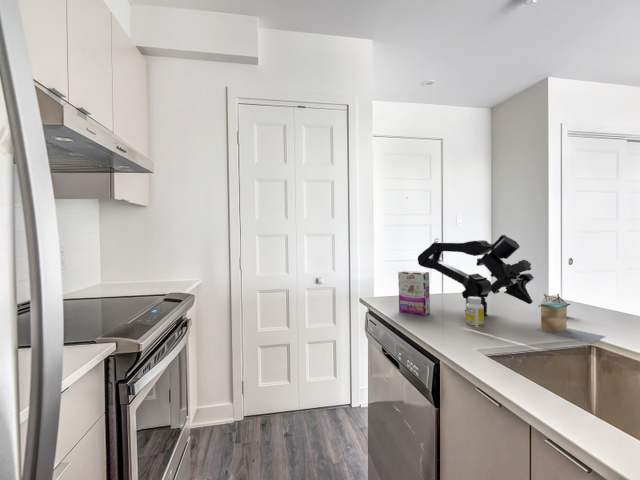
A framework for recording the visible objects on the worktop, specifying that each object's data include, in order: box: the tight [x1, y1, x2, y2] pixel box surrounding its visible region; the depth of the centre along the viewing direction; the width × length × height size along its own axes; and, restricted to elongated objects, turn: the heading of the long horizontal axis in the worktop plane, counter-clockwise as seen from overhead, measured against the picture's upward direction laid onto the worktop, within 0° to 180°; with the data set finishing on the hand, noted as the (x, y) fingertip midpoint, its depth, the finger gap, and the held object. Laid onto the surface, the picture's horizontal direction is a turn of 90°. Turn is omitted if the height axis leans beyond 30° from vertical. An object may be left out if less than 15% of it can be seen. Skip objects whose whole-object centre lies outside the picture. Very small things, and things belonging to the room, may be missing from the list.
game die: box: [538, 293, 572, 308], centre depth 113 cm, size 9×8×10 cm
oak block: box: [540, 302, 568, 333], centre depth 96 cm, size 4×6×8 cm
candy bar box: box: [397, 270, 431, 316], centre depth 122 cm, size 11×5×16 cm, turn 49°
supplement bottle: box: [465, 297, 485, 328], centre depth 103 cm, size 5×5×10 cm
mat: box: [535, 327, 606, 344], centre depth 93 cm, size 14×10×1 cm
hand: (531, 303), depth 101 cm, fingers closed
